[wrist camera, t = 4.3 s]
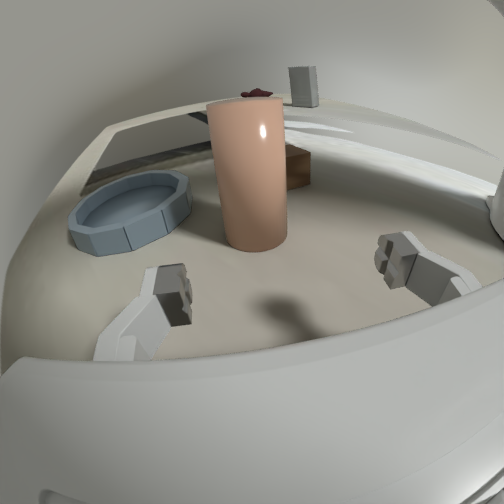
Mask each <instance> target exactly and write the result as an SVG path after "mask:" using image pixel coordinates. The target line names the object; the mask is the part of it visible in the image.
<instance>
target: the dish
mask: <svg viewBox="0 0 504 504" xmlns="http://www.w3.org/2000/svg"><path fill="white" fill-rule="evenodd" d="M191 205H192V193H191V188H190V183H189V178H188V177H187V176H185V175H183V174H182V173H180V172H178V171H175V170H151V171H146V172H141V173H137V174H132V175H128V176H125V177H123V178H120V179H118V180H115V181H113V182H111V183H108V184H106V185H104V186H102V187H100V188H98V189H97V190H95V191H94V192H92V193H91V194H89V195H88V196H86V197H85V198H83V199H82V200H81V201H80V202H79V203H78V204H77V205H76V207H75V208H74V209H73V210H72V212H71V213H70V214H69V215H68V226H69V231H70V233H71V235H72V237H73V240H74V242H75V244H76V246H77V248H78V250H81V251H83V252H86V253H89V254H92V255H94V256H98V257H99V256H105V255H111V254H117V253H123V252H130V251H132V250H136V249H138V248H140V247H142V246H144V245H146V244H148V243H150V242H152V241H154V240H157V239H159V238H161V237H163V236H165V235H167V234H168V233H170V232H171V231H172V230H173V229H174V228H175V227H176V226H177V225H179V224H180V223H181V222H182V221H183V220H184V219H185V218H186V217H187V216H188V215H189V214H190V212H191Z"/></svg>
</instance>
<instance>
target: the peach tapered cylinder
mask: <svg viewBox="0 0 504 504" xmlns="http://www.w3.org/2000/svg"><path fill="white" fill-rule="evenodd" d="M206 109H207V116H208V123H209V130H210V137H211V144H212V151H213V158H214V165H215V171H216V178H217V184H218V191H219V197H220V203H221V210H222V216H223V222H224V228H225V234H226V239H227V242H228V243H229V244H230V245H231V246H232V247H234V248H236V249H238V250H241V251H245V252H262V251H267V250H270V249H273V248H275V247H277V246H279V245H280V244H281V243H283V242H284V240H285V239H286V237H287V186H286V155H285V132H284V113H283V99H282V98H279V97H247V98H237V99H230V100H224V101H218V102H214V103H211V104H208V105H206Z"/></svg>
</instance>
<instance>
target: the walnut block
mask: <svg viewBox="0 0 504 504" xmlns="http://www.w3.org/2000/svg"><path fill="white" fill-rule="evenodd" d="M285 155H286V186H287V190H290V189H294V188H297V187H301V186H305V185H308V184H310V152H308V151H306V150H303V149H301V148H298V147H296V146H293V145H290V144H289V145H285Z"/></svg>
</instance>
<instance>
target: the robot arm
mask: <svg viewBox="0 0 504 504" xmlns="http://www.w3.org/2000/svg"><path fill="white" fill-rule="evenodd" d="M488 1H489V2H490V3H491V4H492V5H493V6H494V7H495V8H496V9H497V10H498V11H499V12H500V13H501V14H502V16H503V17H504V0H488ZM486 204H487V206H488V207H489V209H490V220H491V222H492V225H493V226H494V228H495V230H496V231H497V233H498V234H499V235H500V236H501V238H502V239H503V240H504V170H503V172H502V176H501V179H500V182H499V185H498V187H497V190H496V193H495V196H488V198H487V200H486ZM378 245H379V248H378V249H377V250H376V252H375V256H374V261H375V266H376V268H377V270H378V271H379V272H380V273H381V274H383V275H384V281H385V282H386V284H387V285H388V287H389V288H390V289H395V288H400V287H404V286H406V288H407V289H409V290H410V291H412V292H413V293H414V294H416V295H417V296H418V297H420V298H421V299H422V300H424V301H425V302H427V303H428V304H429V305H431V306H432V307H430V308H428V309H425V310H422V311H419V312H416V313H412V314H409V315H406V316H403V317H400V318H396V319H393V320H390V321H386V322H383V323H379V324H376V325H372V326H368V327H365V328H361V329H357V330H353V331H349V332H345V333H341V334H336V335H332V336H328V337H323V338H319V339H314V340H309V341H304V342H299V343H294V344H288V345H283V346H277V347H271V348H265V349H259V350H252V351H245V352H238V353H230V354H222V355H213V356H203V357H193V358H180V359H166V360H151V359H152V357H153V355H154V354H155V352H156V351H157V349H158V348H159V346H160V345H161V343H162V341H163V340H164V338H165V337H166V335H167V334H168V332H169V331H170V329H171V327H174V326H182V325H190V324H192V309H191V307H190V305H191V303H192V289H191V284H190V281H189V279H188V278H186V272H187V271H186V268H185V265H184V264H183V263H180V264H172V265H163V266H156V267H148V268H147V269H146V270H145V274H144V278H143V282H142V286H141V290H140V294H139V297H135V298H134V299H133V300H132V301H131V303H130V304H129V305H128V306H127V307H126V308H125V309H124V310H123V311H122V312H121V313H120V314H119V315H118V316H117V317H116V318H115V319H114V320H113V321H112V322H111V323H110V324H109V325H108V326H107V328H106V329H105V330H104V331H103V332H102V333H101V334H100V335H99V337H98V341H97V345H96V349H95V353H94V357H93V361H75V360H56V359H43V358H34V357H21V358H19V359H18V360H17V361H15V362H14V363H13V364H12V365H11V366H10V367H9V368H8V369H7V370H6V371H5V372H4V374H3V375H2V376H1V377H0V504H504V278H502V279H500V280H498V281H496V282H494V283H491V284H489V285H487V286H485V287H483V286H482V285H481V284H480V282H479V281H478V280H477V279H476V278H475V276H474V275H473V274H472V273H471V271H469V270H467V269H465V268H463V267H461V266H460V265H458V264H456V263H454V262H452V261H450V260H448V259H446V258H444V257H442V256H440V255H438V254H436V253H434V252H432V251H428V250H427V249H426V248H425V247H424V246H423V245H422V244H421V242H420V241H419V240H418V239H417V238H416V237H415V236H414V235H413V234H412V233H411V232H410V231H403V232H399V233H393V234H386V235H381V236H380V237H379V239H378Z"/></svg>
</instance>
